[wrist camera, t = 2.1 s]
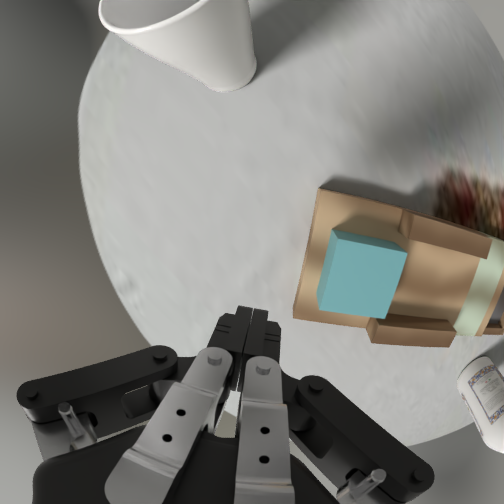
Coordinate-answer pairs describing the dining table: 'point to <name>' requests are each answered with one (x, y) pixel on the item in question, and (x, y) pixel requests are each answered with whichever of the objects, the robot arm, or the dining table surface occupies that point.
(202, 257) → the dining table surface
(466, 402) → the bath foam
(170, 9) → the drinking glass
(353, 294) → the block
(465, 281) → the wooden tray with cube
